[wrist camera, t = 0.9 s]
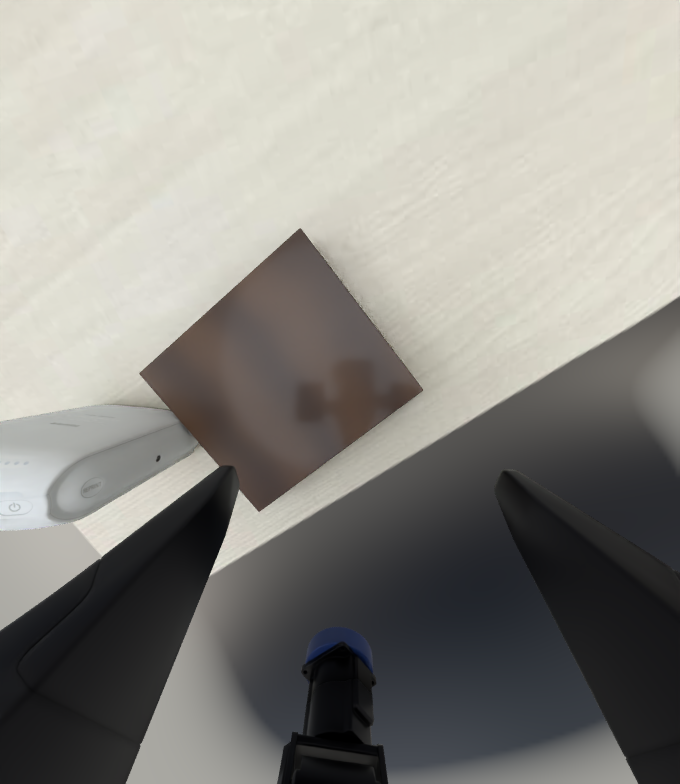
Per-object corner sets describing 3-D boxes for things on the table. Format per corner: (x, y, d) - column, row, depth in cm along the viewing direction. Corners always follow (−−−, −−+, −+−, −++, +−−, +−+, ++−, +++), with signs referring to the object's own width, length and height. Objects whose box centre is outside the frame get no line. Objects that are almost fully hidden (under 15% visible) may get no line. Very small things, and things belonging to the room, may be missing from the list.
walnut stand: (268, 495, 23) (258, 512, 21) (162, 371, 22) (138, 373, 19) (415, 386, 21) (423, 390, 19) (306, 243, 20) (300, 227, 17)
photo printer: (204, 410, 22) (22, 473, 10) (203, 455, 23) (30, 566, 11) (96, 398, 23) (-207, 445, 10) (98, 442, 23) (-187, 536, 11)
